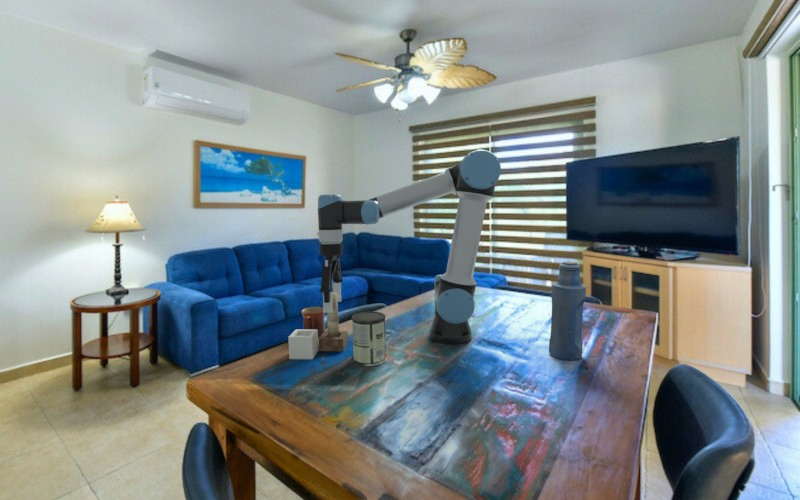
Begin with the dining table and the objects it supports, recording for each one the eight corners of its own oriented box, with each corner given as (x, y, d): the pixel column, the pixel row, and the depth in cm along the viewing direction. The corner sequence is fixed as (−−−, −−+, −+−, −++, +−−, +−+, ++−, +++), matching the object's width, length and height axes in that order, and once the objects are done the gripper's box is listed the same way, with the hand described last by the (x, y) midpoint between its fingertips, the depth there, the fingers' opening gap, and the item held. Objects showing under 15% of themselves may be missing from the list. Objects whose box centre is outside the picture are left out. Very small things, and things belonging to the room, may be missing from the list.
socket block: (348, 345, 130) (347, 331, 129) (343, 354, 122) (343, 339, 121) (325, 344, 130) (324, 330, 130) (319, 353, 122) (318, 339, 122)
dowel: (329, 344, 128) (327, 292, 126) (340, 344, 128) (338, 292, 126) (327, 348, 124) (324, 295, 122) (338, 348, 124) (335, 294, 122)
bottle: (556, 346, 127) (559, 258, 123) (587, 354, 120) (591, 261, 116) (543, 355, 120) (547, 261, 116) (575, 363, 113) (580, 265, 109)
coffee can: (361, 351, 124) (360, 310, 122) (390, 355, 121) (390, 312, 119) (347, 364, 114) (345, 319, 113) (378, 368, 111) (377, 322, 109)
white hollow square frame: (318, 353, 123) (317, 329, 122) (312, 362, 116) (311, 337, 115) (296, 352, 123) (295, 329, 122) (289, 362, 116) (288, 337, 115)
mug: (308, 332, 143) (307, 306, 142) (330, 334, 142) (329, 307, 140) (293, 343, 132) (292, 315, 130) (317, 345, 130) (316, 316, 129)
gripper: (328, 239, 135) (330, 297, 137) (308, 246, 110) (311, 317, 112) (349, 239, 134) (350, 297, 137) (333, 246, 109) (335, 317, 112)
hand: (332, 306), depth 124 cm, fingers open, 13 cm apart
